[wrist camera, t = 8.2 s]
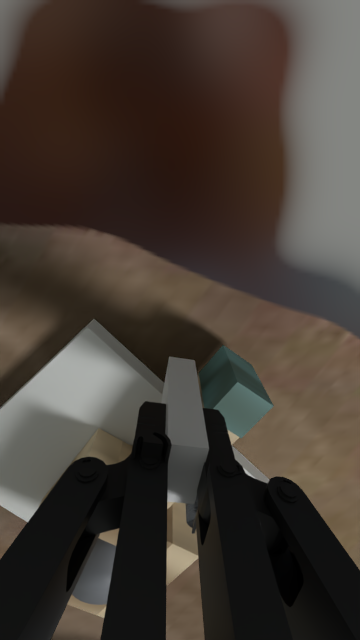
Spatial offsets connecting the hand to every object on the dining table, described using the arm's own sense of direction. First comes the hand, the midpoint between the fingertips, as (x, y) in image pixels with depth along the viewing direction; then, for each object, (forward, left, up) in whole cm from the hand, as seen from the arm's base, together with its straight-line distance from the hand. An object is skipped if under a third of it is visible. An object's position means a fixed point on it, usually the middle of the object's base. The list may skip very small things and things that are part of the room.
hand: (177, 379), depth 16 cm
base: (-4, +10, -3) cm, 11 cm away
